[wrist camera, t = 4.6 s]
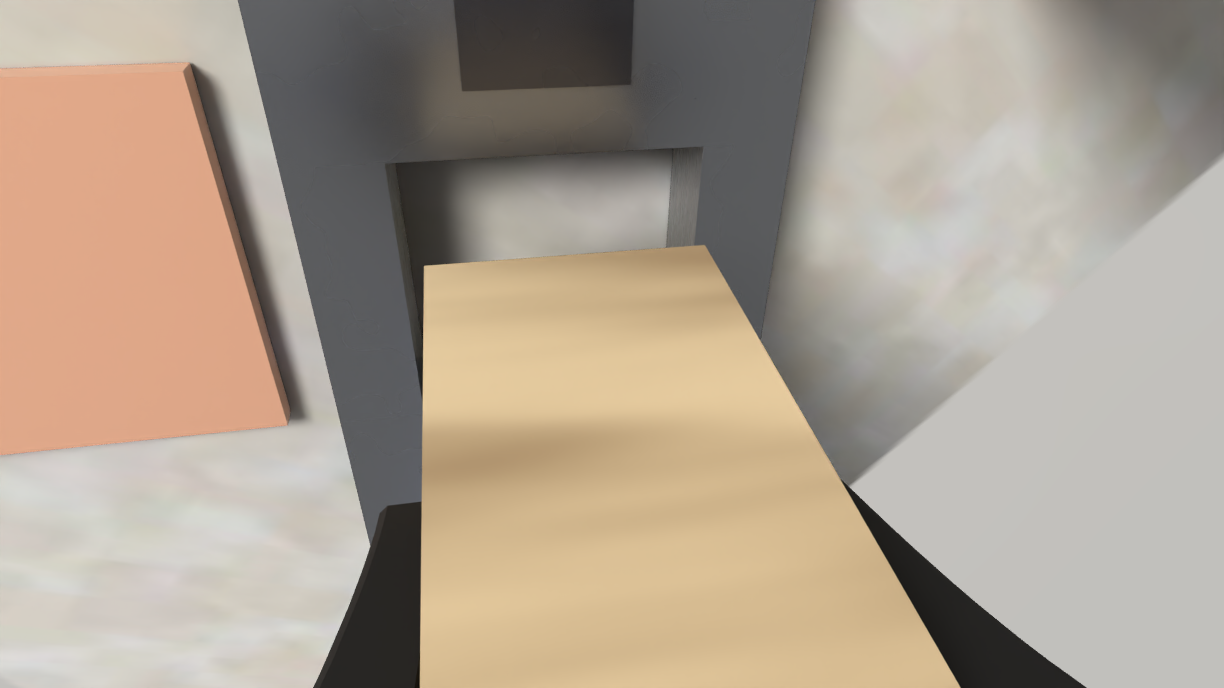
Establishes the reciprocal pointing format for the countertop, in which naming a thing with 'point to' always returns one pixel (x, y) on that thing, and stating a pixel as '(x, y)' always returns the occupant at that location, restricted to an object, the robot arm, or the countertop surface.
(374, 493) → the square hole bar
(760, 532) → the wooden peg
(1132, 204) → the countertop surface
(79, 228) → the tile
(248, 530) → the countertop surface
